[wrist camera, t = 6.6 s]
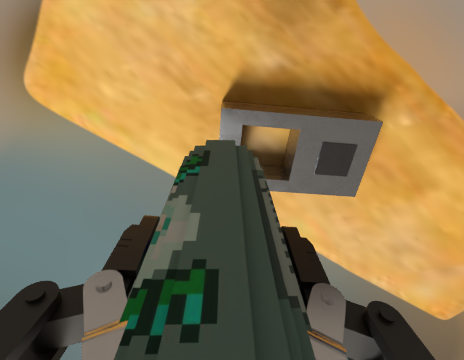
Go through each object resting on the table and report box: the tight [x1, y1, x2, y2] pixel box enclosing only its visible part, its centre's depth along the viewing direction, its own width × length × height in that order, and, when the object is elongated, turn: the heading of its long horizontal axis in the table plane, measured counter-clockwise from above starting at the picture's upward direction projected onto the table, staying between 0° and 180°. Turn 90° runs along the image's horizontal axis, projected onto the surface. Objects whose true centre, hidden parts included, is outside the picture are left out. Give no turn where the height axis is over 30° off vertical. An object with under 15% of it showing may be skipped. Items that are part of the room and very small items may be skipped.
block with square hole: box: [219, 101, 383, 197], centre depth 38 cm, size 12×22×5 cm, turn 85°
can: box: [114, 140, 316, 360], centre depth 12 cm, size 6×6×15 cm
